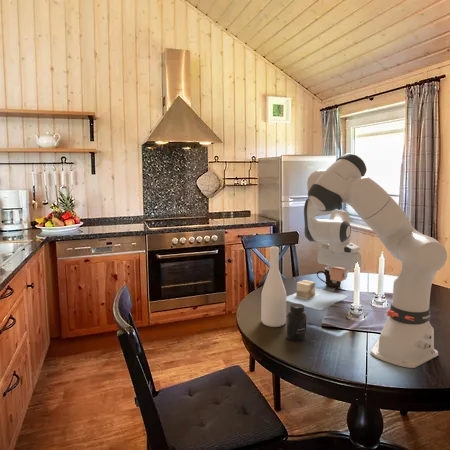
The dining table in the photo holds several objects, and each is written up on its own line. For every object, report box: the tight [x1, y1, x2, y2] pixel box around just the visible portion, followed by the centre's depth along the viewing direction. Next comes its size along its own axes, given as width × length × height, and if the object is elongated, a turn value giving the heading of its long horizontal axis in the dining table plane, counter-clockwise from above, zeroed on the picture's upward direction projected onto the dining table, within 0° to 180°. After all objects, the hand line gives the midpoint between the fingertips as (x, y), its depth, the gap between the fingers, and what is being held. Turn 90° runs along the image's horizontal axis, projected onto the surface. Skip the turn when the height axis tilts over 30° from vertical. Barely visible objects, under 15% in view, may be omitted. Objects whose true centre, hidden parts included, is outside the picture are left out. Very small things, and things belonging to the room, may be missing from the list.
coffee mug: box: [316, 266, 342, 289], centre depth 196 cm, size 12×9×10 cm
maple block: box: [296, 279, 316, 298], centre depth 182 cm, size 6×6×6 cm
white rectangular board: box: [286, 287, 349, 311], centre depth 180 cm, size 24×20×1 cm
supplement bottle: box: [286, 303, 308, 342], centre depth 141 cm, size 7×7×12 cm
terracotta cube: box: [330, 266, 347, 283], centre depth 179 cm, size 5×5×5 cm
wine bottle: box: [260, 245, 287, 328], centre depth 153 cm, size 10×10×30 cm
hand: (338, 276), depth 179 cm, fingers closed on terracotta cube, 5 cm apart
